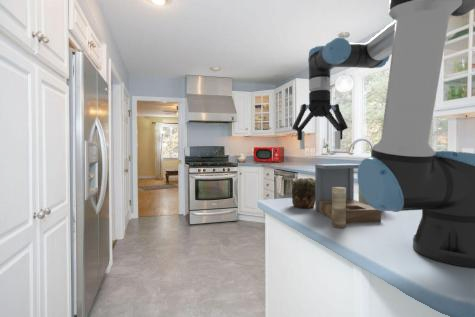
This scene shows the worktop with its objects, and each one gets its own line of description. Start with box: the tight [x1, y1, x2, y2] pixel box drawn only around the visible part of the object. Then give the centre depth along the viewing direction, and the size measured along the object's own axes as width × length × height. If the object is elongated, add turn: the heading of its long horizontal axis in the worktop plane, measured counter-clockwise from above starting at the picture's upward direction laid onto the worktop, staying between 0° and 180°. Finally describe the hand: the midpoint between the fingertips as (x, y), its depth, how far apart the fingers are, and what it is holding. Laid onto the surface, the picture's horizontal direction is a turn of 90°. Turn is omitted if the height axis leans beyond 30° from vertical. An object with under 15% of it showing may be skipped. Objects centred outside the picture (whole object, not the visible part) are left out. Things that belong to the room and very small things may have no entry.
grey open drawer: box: [314, 163, 361, 212], centre depth 102 cm, size 8×15×18 cm, turn 96°
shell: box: [291, 177, 315, 209], centre depth 112 cm, size 11×11×12 cm
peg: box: [331, 187, 347, 229], centre depth 83 cm, size 4×4×12 cm
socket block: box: [318, 199, 382, 224], centre depth 96 cm, size 17×14×4 cm
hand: (320, 149), depth 99 cm, fingers open, 13 cm apart
